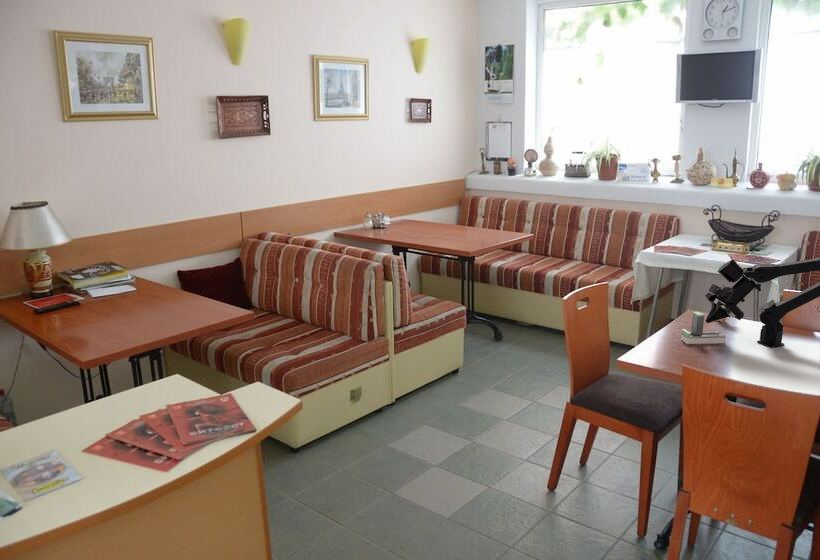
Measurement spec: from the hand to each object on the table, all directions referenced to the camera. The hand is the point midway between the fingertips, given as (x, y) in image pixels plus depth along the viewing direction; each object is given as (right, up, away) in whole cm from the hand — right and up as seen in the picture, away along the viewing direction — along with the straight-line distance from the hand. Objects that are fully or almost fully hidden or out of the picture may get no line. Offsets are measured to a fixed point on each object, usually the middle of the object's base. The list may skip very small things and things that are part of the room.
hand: (706, 322), depth 251 cm
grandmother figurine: (+17, -1, +26) cm, 31 cm away
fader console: (-1, -7, +2) cm, 7 cm away
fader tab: (-3, -5, +1) cm, 6 cm away
